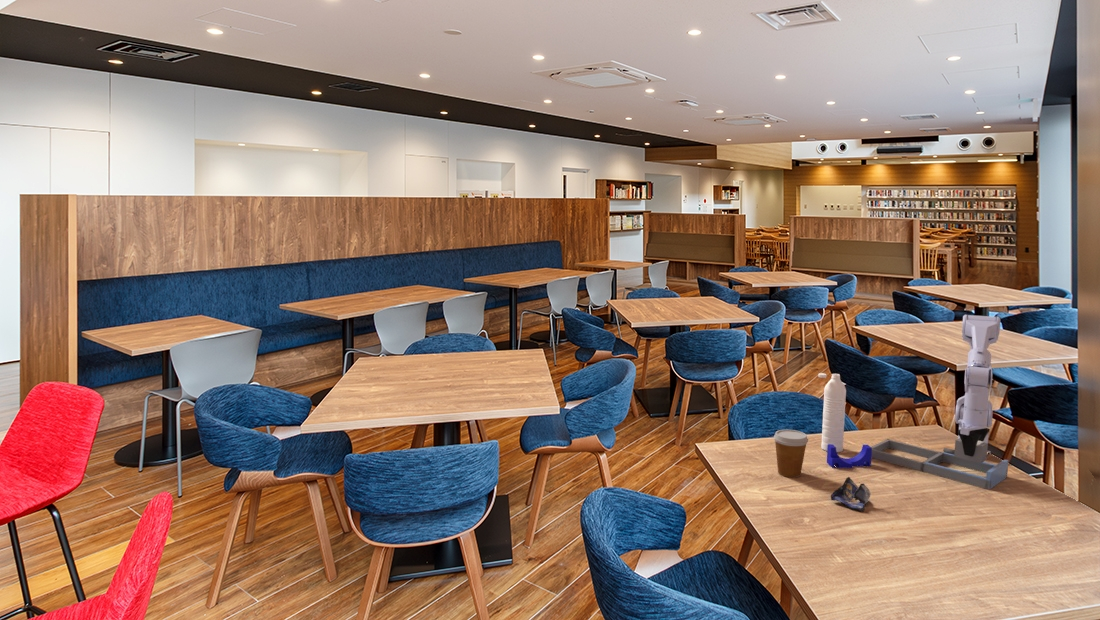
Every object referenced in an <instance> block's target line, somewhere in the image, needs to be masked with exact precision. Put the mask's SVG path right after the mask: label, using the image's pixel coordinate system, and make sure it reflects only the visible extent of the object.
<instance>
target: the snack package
mask: <svg viewBox="0 0 1100 620" xmlns="http://www.w3.org/2000/svg"><path fill="white" fill-rule="evenodd" d="M859 483H860V482H858V484H859ZM871 495H872V494H871V491H870V489H869V488H868V486H866V485H865V483H860V485H857V484H856V483H855V482H854V481H853V479H851V477H849V476H848V477H846V479H845V480H844V481H843V484H842V485H841V486H840V487H839V488H837V489H835V490H834V491H833V492H832V493H831V495H830V500H831V501H834V502H839V503H842V504H843V505H844V506H845V508H849V509H850V510H852V511H859V512H863V511H864V509H865V505H866V504H867V503H868V502H869V501H870V498H871ZM852 500H855V501H856V502H851V501H852Z"/></svg>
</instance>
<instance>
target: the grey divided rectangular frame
mask: <svg viewBox="0 0 1100 620" xmlns="http://www.w3.org/2000/svg"><path fill="white" fill-rule="evenodd" d="M870 447H871V448H872V454H871V459H875V460H879V461H883V462H887V463H890V464H893V465H897V466H901V467H905V468H908V469H912V470H915V471H919V472H923V473H926V474H931V475H934V476H938V477H941V478H943V479H944V478H946V479H949V480H952V481H955V482H959V483H962V484H966V485H970V486H974V487H977V486H978V487H977V488H981V489H985V490H991V489H992V488H994V487H996V486H997V485H998V484H999V483H1001V482H1002V481H1004V480H1005V479H1006V478H1008V470H1009V460H1008V459H1003V460H1001V461H1000V462H999V463H997V464H994V463H990V462H987V461H984V462H983V463H978V462H973V461H969V460H965V459H961V458H957V457H954V455H953V454H949V453H945V452H944V451H943V452H941V451H938V450H934V449H929V448H926V447H921V446H917V445H913V444H909V443H906V442H900V441H897V440H893V439H888V438H887V439H884V440H883V441H880V442H878V443H876V444H874V445H871V446H870ZM885 449H886V450H888V449H892V450H895V451H898V452H899V451H900V452H903V453H907V454H911V455H914V456H919V457H923V458H927V459H925V460H924V461H919V460H915V459H912V458H908V457H904V456H901V455H897V454H893V453H890V452H886V451H885ZM940 463H947V464H950V465H954V466H959V467H963V468H965V467H966V468H965V469H970V470H973V469H974V471H977V470H978V472H981V471H982V473H984V474H986V475H985V477H984V476H981V475H978V474H973V473H969V472H966V471H961V470H958V469H954V468H950V467H946V466H942V465H939V464H940ZM996 484H997V485H996Z"/></svg>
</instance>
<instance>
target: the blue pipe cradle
mask: <svg viewBox="0 0 1100 620" xmlns="http://www.w3.org/2000/svg"><path fill="white" fill-rule="evenodd" d="M871 447H872V446H870V445H869V444H862V447H861V450H860V452H859V453H858V454H856V455H855V456H853V457H850V458H845V457H841V456H840V455H839V454H838V452H836V447H835V446H834V445H833V444H828V446H827V451H826V463H827V465H829V466H830V467H832V468H831V469H853V467H863V466H870V467H872V458H871V454H872V448H871ZM834 465H835V466H836V467H837V468H836V467H835V466H834Z"/></svg>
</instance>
